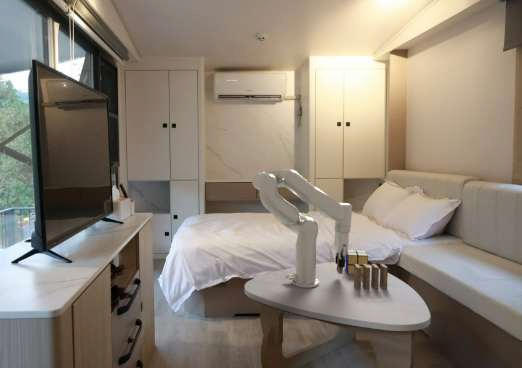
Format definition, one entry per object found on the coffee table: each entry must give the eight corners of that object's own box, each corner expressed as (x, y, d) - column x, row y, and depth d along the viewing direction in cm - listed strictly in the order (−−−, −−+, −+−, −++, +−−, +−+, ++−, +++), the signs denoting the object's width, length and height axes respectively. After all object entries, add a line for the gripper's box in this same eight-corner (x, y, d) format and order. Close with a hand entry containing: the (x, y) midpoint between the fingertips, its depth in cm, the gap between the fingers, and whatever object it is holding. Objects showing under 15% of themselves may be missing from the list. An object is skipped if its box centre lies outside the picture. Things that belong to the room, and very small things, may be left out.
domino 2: (357, 289, 157) (357, 267, 156) (353, 285, 162) (354, 264, 161) (360, 289, 157) (361, 267, 156) (357, 285, 162) (357, 264, 161)
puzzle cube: (345, 267, 187) (345, 249, 186) (364, 268, 185) (365, 250, 184) (347, 274, 177) (347, 255, 176) (367, 275, 175) (368, 255, 174)
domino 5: (383, 289, 157) (384, 267, 156) (379, 284, 162) (380, 263, 161) (387, 289, 157) (387, 267, 156) (382, 284, 162) (383, 263, 161)
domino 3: (366, 289, 157) (366, 267, 156) (362, 285, 162) (363, 264, 161) (369, 289, 157) (370, 267, 156) (365, 285, 162) (366, 264, 161)
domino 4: (374, 289, 157) (375, 267, 156) (371, 285, 162) (371, 264, 161) (378, 289, 157) (379, 267, 156) (374, 284, 162) (375, 264, 161)
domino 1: (339, 273, 167) (340, 253, 167) (336, 270, 172) (338, 250, 172) (342, 273, 167) (344, 253, 167) (339, 270, 172) (341, 250, 172)
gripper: (330, 225, 177) (328, 260, 178) (339, 231, 160) (336, 270, 161) (345, 225, 177) (342, 260, 178) (355, 232, 160) (352, 271, 161)
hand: (339, 265), depth 170 cm, fingers closed on domino 1, 4 cm apart
